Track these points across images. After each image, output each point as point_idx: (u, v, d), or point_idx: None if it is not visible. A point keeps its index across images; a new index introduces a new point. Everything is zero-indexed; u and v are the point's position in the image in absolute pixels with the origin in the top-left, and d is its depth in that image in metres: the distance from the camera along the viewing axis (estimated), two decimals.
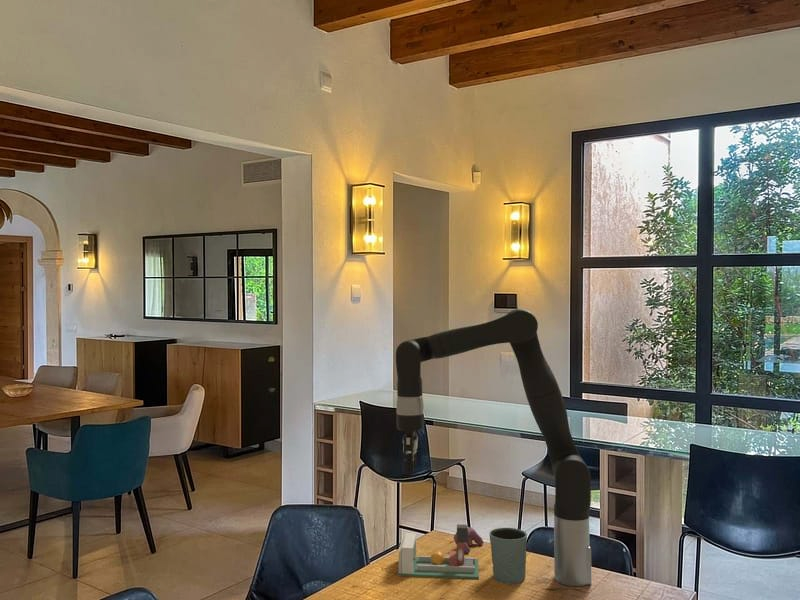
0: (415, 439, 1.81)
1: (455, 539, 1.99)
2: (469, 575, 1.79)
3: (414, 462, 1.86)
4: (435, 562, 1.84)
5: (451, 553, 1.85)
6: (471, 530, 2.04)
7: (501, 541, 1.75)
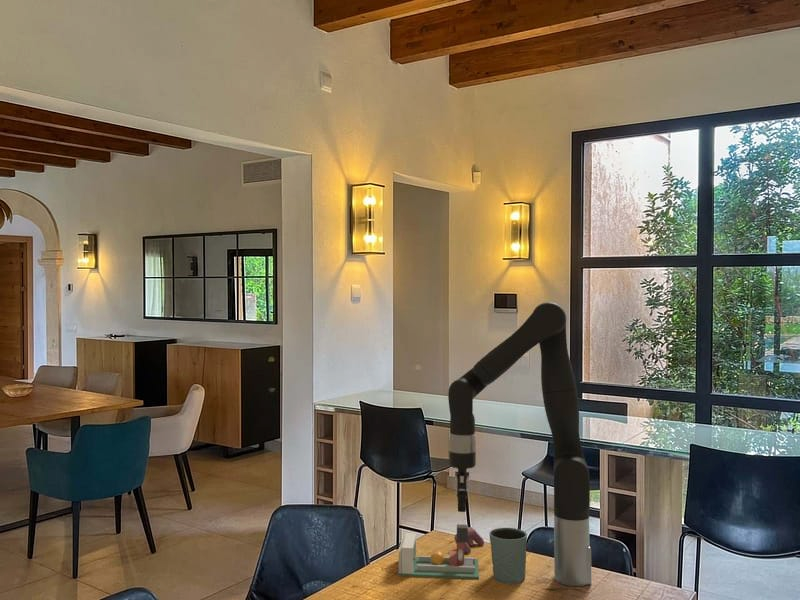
0: (467, 476, 1.83)
1: (456, 539, 1.99)
2: (469, 575, 1.79)
3: None
4: (435, 562, 1.84)
5: (451, 553, 1.85)
6: (472, 530, 2.04)
7: (501, 541, 1.75)
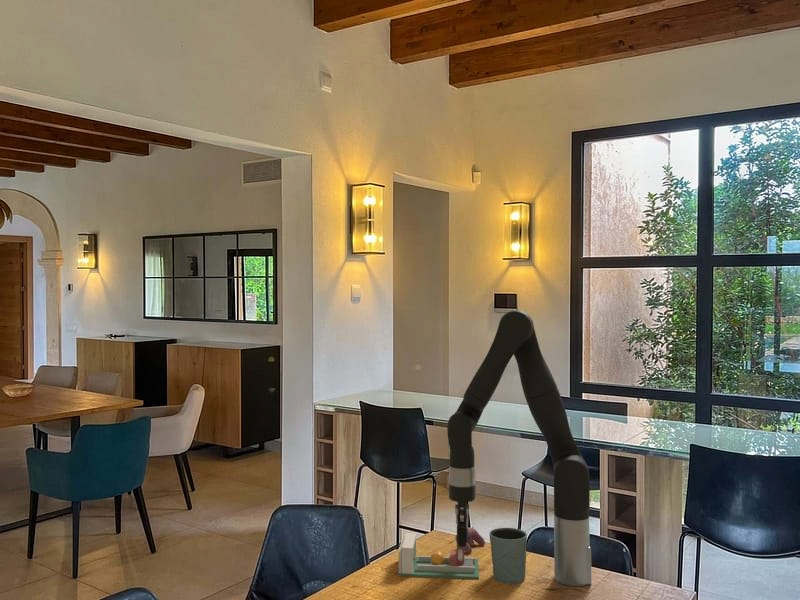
0: (467, 511, 1.83)
1: None
2: (469, 575, 1.79)
3: None
4: (435, 562, 1.84)
5: (451, 553, 1.85)
6: (473, 530, 2.04)
7: (501, 541, 1.75)
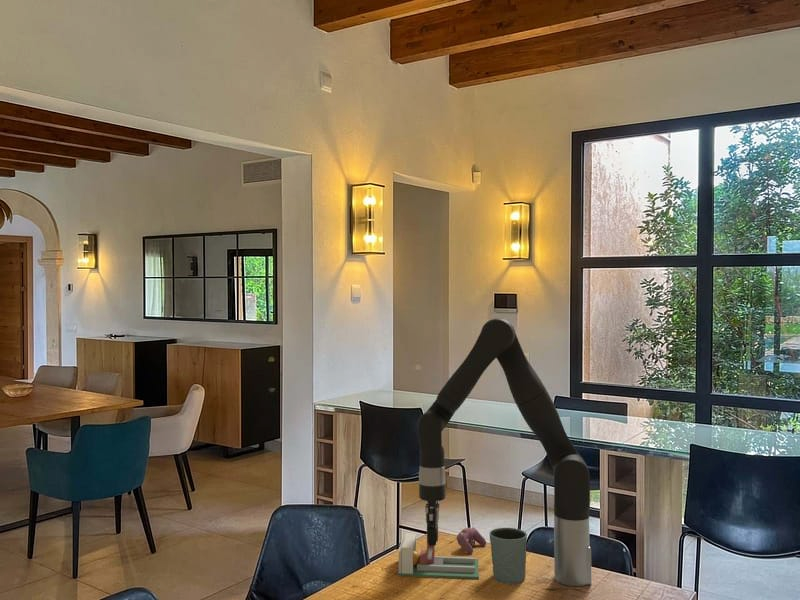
0: (437, 510, 1.84)
1: (458, 540, 1.99)
2: (469, 575, 1.79)
3: None
4: (414, 559, 1.84)
5: (422, 552, 1.86)
6: (474, 531, 2.03)
7: (501, 541, 1.75)
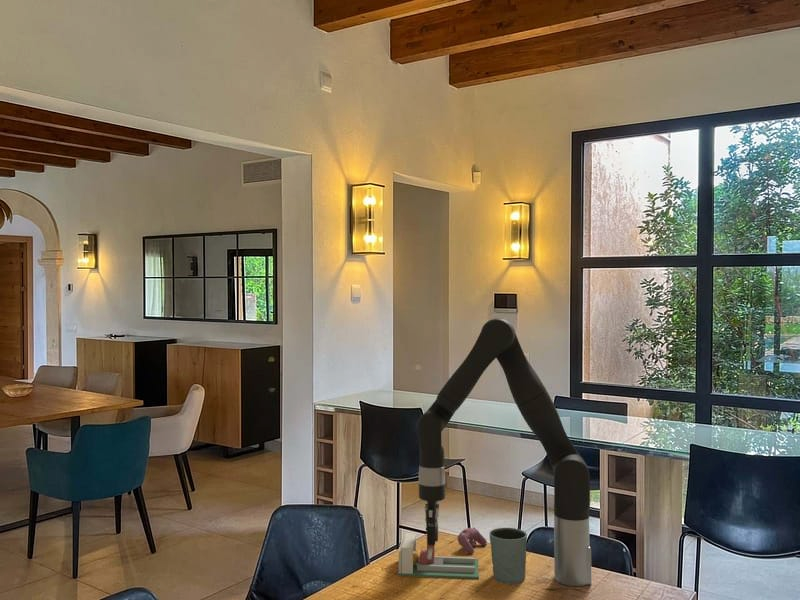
0: (437, 509, 1.84)
1: (459, 540, 1.99)
2: (469, 575, 1.79)
3: None
4: None
5: (422, 552, 1.86)
6: (475, 531, 2.03)
7: (501, 541, 1.75)
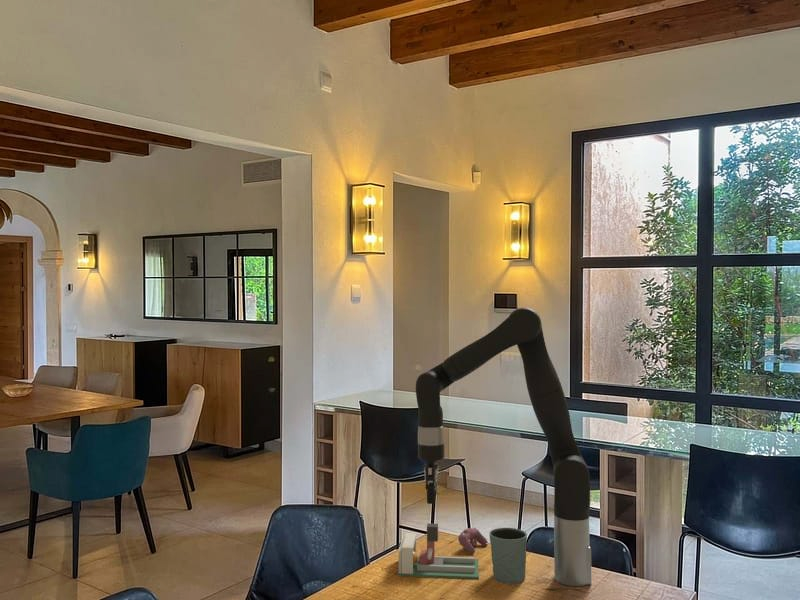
0: (436, 468, 1.84)
1: (460, 540, 1.98)
2: (469, 575, 1.79)
3: (435, 490, 1.90)
4: None
5: (422, 552, 1.86)
6: (475, 531, 2.03)
7: (501, 541, 1.75)
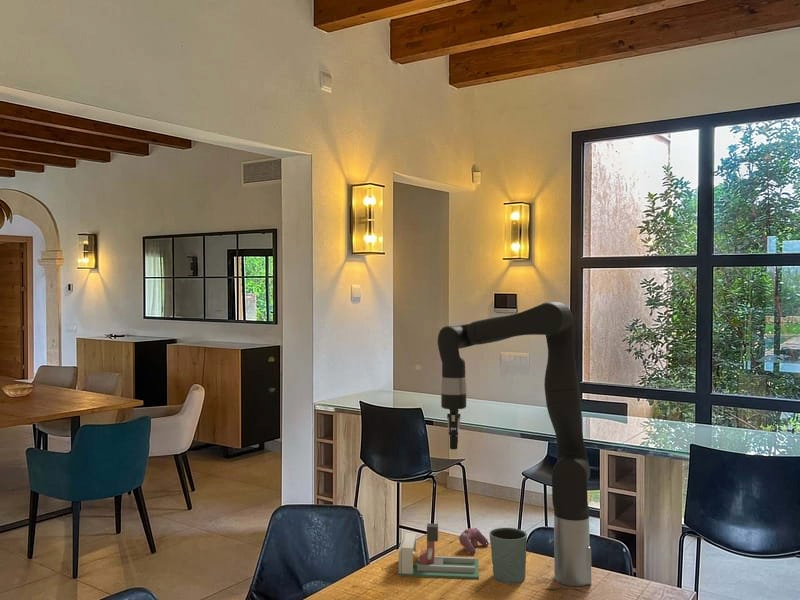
0: (459, 417, 1.95)
1: (460, 540, 1.98)
2: (469, 575, 1.79)
3: (456, 439, 2.01)
4: None
5: (422, 552, 1.86)
6: (476, 531, 2.03)
7: (501, 541, 1.75)
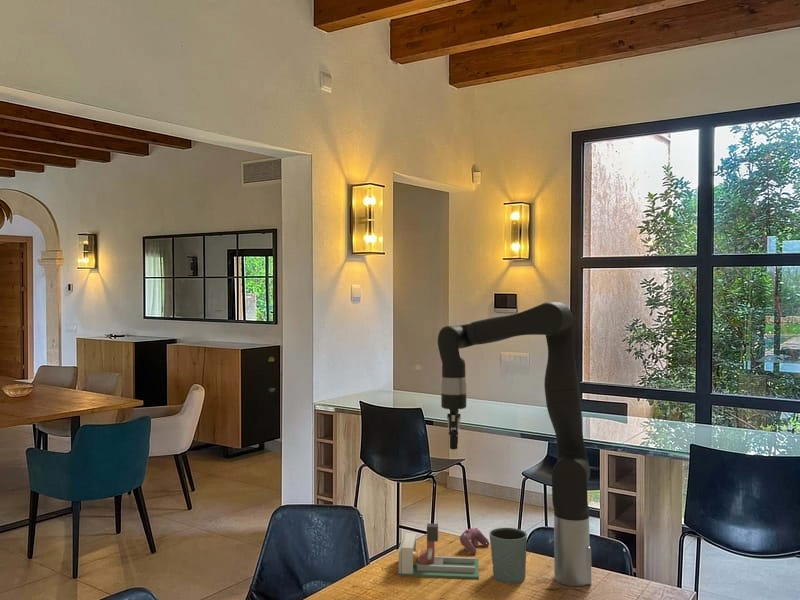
0: (459, 417, 1.95)
1: (461, 540, 1.98)
2: (469, 575, 1.79)
3: (456, 439, 2.01)
4: None
5: (422, 552, 1.86)
6: (477, 531, 2.03)
7: (501, 541, 1.75)
